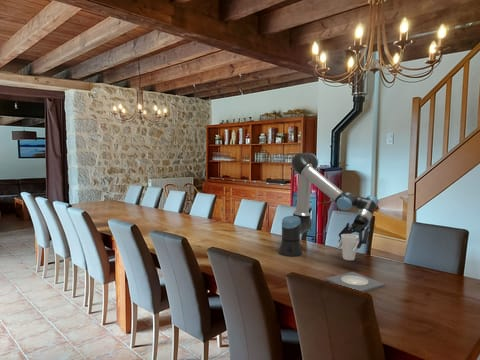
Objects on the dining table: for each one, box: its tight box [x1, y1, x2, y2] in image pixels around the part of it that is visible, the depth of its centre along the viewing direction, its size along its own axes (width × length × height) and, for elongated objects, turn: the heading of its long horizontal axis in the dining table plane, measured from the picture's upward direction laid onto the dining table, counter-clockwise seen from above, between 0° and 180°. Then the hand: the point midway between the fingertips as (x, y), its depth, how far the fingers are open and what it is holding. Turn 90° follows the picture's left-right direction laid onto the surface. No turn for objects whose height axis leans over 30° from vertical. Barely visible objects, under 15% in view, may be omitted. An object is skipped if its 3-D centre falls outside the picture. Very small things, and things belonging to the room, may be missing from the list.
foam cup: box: [341, 233, 359, 261], centre depth 195 cm, size 10×9×13 cm
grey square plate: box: [325, 271, 386, 293], centre depth 175 cm, size 20×20×2 cm
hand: (346, 250), depth 193 cm, fingers closed on foam cup, 9 cm apart
